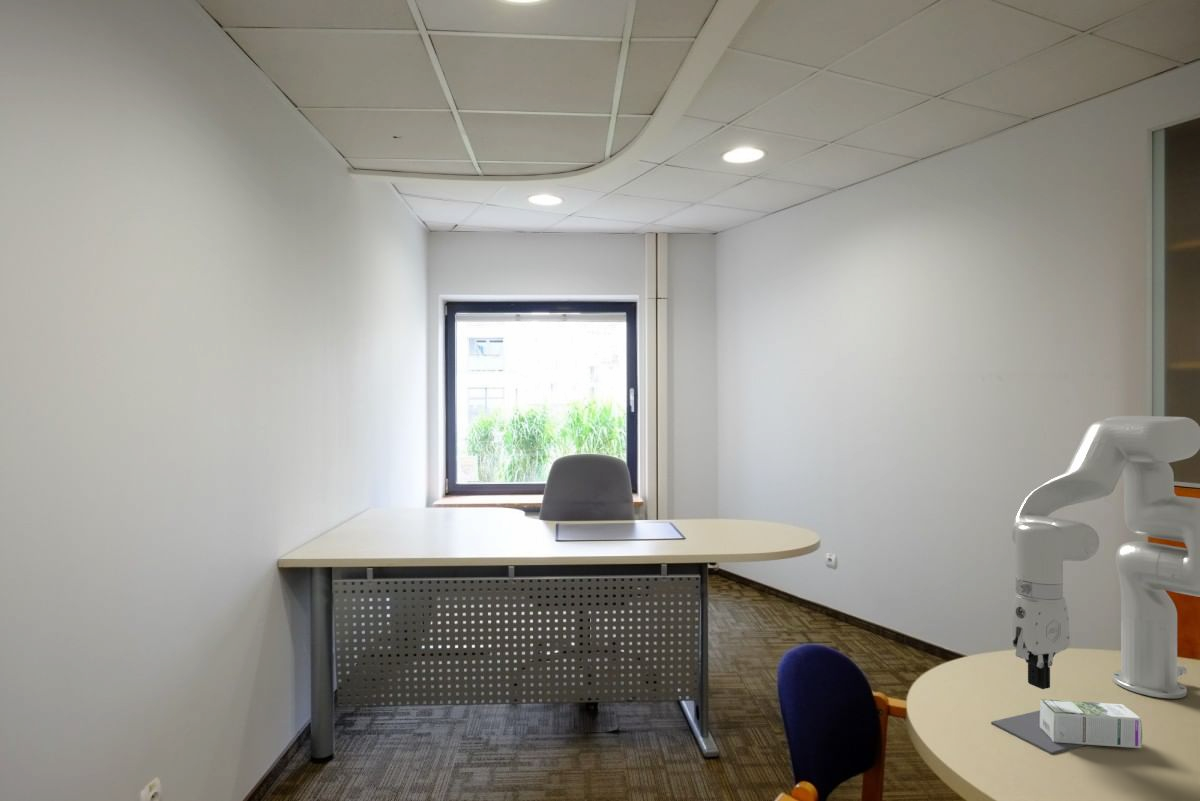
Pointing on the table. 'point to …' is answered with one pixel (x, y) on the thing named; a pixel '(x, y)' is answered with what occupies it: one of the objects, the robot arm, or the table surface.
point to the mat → (1032, 732)
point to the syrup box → (1090, 723)
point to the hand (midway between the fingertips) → (1038, 685)
